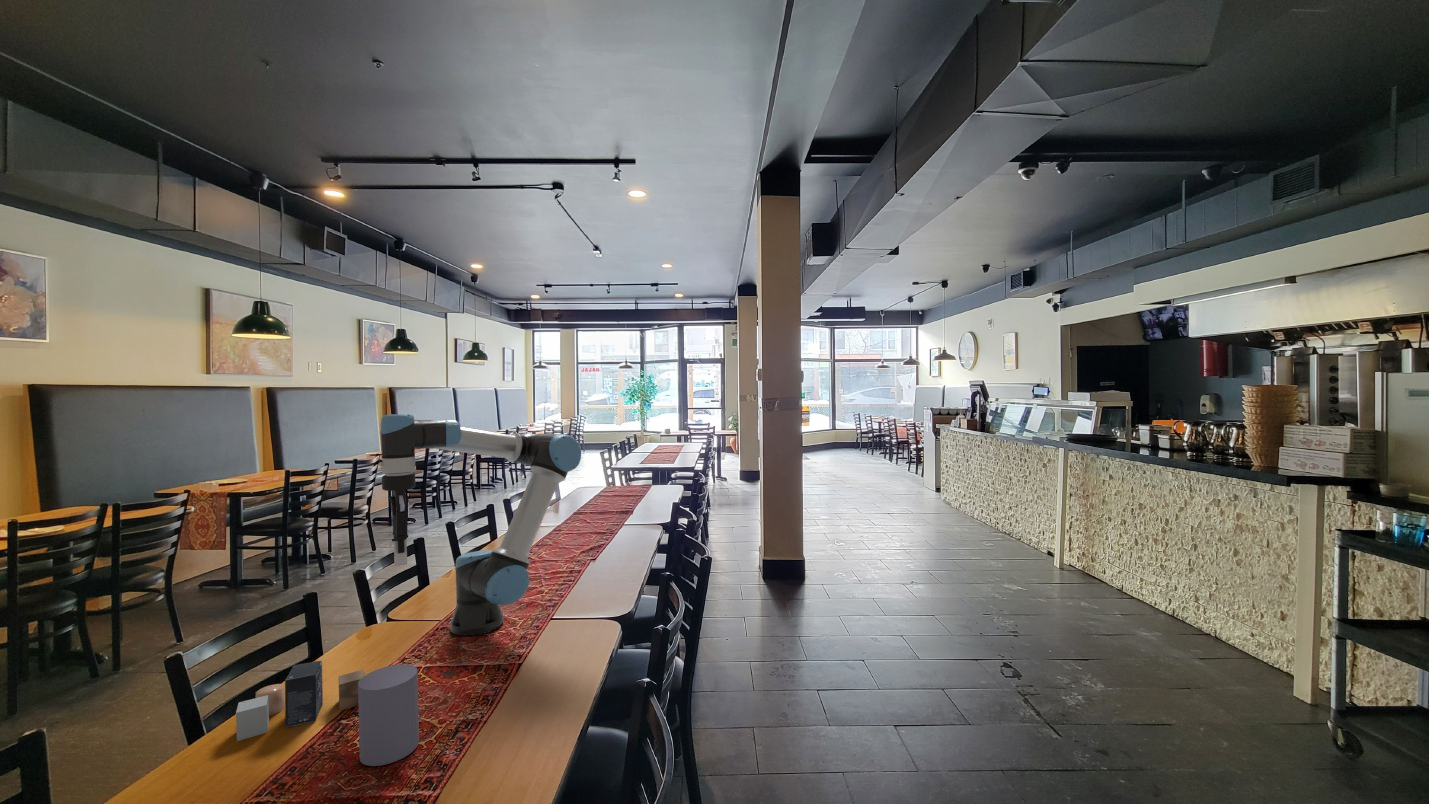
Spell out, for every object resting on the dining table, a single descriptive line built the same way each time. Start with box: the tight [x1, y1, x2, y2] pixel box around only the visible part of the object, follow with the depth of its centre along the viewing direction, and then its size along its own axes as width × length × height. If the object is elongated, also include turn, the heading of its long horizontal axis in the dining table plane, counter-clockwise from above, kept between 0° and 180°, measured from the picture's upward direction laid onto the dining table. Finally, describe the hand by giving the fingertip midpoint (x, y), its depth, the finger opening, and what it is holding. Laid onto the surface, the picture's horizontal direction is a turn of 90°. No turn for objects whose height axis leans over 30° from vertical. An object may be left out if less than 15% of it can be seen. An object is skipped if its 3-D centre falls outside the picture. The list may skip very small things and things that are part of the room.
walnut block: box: [338, 669, 365, 711], centre depth 130 cm, size 5×5×6 cm
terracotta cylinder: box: [255, 683, 285, 717], centre depth 126 cm, size 5×5×5 cm
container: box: [358, 663, 420, 767], centre depth 111 cm, size 10×10×15 cm
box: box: [284, 660, 324, 728], centre depth 124 cm, size 8×6×11 cm
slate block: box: [235, 695, 270, 742], centre depth 119 cm, size 5×5×6 cm
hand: (400, 564), depth 143 cm, fingers closed
